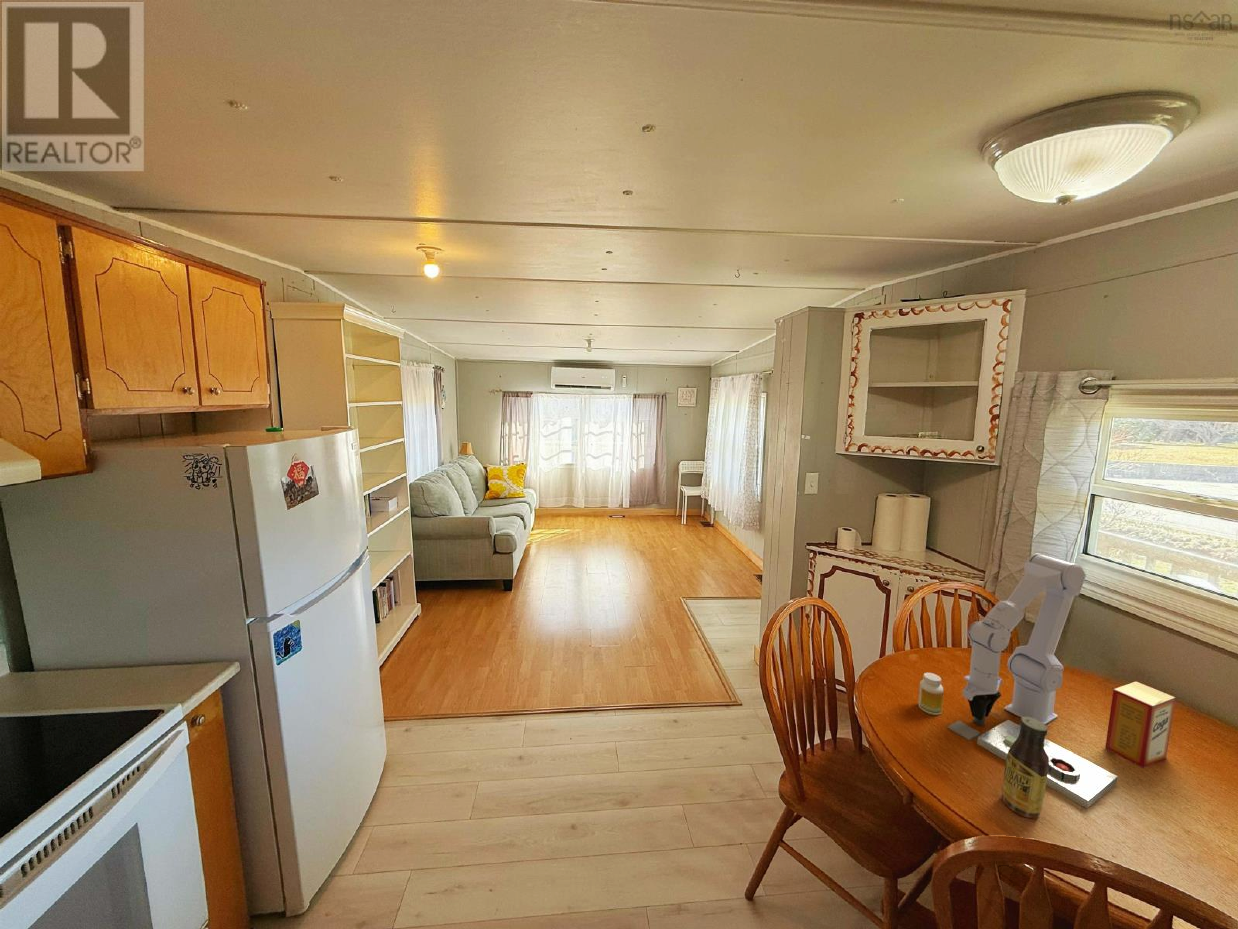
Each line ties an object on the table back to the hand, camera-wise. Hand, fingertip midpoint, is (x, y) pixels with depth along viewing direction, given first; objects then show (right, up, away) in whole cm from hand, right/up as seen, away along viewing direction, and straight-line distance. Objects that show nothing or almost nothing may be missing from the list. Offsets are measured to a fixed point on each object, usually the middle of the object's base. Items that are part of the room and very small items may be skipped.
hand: (979, 716), depth 118 cm
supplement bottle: (-9, -2, +6) cm, 11 cm away
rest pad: (-6, -2, -3) cm, 7 cm away
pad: (0, -2, -10) cm, 10 cm away
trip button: (+4, -3, -18) cm, 18 cm away
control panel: (+4, -4, -13) cm, 14 cm away
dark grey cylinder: (0, -2, 0) cm, 2 cm away
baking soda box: (+29, -3, -10) cm, 31 cm away
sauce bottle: (-12, -5, -25) cm, 28 cm away
